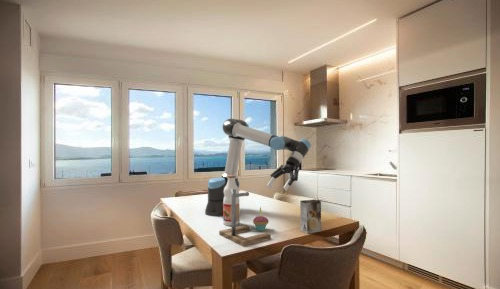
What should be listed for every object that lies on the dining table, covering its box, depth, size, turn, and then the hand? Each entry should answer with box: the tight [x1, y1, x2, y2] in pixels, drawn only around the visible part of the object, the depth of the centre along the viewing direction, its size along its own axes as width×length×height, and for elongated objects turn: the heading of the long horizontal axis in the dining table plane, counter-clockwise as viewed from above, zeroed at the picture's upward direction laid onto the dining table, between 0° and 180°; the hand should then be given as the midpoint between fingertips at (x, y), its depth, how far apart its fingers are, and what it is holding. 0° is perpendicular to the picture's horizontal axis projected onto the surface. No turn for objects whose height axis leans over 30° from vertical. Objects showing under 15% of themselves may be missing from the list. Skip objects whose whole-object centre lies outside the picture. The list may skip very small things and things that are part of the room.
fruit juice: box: [222, 175, 240, 227], centre depth 158 cm, size 9×9×28 cm
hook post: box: [231, 189, 250, 236], centre depth 133 cm, size 2×10×22 cm, turn 128°
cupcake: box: [252, 206, 269, 232], centre depth 146 cm, size 9×8×12 cm
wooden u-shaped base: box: [218, 224, 272, 247], centre depth 135 cm, size 20×17×2 cm
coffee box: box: [299, 199, 322, 234], centre depth 144 cm, size 9×6×16 cm
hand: (276, 188), depth 153 cm, fingers open, 13 cm apart
